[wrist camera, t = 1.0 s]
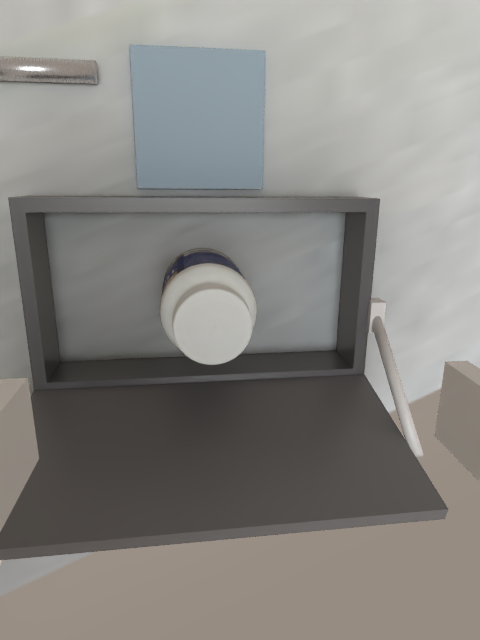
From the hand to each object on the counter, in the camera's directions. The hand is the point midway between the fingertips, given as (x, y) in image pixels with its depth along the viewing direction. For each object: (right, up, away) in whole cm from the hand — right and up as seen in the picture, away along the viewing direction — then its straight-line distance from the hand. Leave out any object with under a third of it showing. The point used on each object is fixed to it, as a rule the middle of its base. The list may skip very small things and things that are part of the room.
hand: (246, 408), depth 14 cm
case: (-2, +4, +18) cm, 18 cm away
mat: (-3, +15, +14) cm, 21 cm away
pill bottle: (-3, +5, +17) cm, 18 cm away
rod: (-13, +17, +12) cm, 25 cm away
